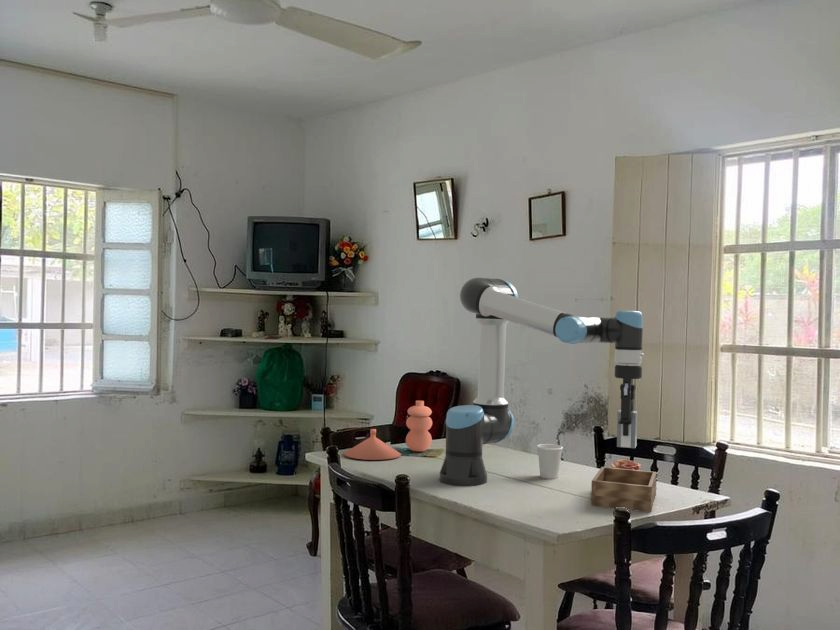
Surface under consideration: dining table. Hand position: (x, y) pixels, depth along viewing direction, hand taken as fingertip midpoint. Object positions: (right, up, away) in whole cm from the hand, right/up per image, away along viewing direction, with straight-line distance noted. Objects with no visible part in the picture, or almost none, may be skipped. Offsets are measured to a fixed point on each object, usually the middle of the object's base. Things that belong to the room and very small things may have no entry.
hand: (626, 445), depth 214 cm
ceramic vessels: (-71, -14, +64) cm, 97 cm away
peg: (0, 0, 0) cm, 0 cm away
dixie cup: (-17, -16, +29) cm, 37 cm away
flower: (+5, -16, +20) cm, 27 cm away
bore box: (-1, -16, 0) cm, 16 cm away
